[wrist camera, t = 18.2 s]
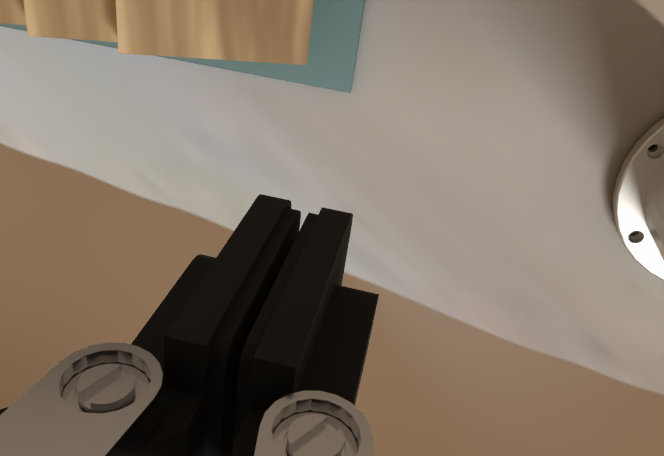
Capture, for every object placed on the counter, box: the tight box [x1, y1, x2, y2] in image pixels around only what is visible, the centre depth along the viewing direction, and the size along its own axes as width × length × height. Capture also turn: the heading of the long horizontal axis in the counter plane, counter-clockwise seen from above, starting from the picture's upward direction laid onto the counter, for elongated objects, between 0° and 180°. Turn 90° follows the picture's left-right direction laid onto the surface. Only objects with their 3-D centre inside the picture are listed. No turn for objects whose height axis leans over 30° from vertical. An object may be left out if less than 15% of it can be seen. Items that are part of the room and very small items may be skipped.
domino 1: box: [116, 0, 314, 65], centre depth 33 cm, size 2×5×10 cm
